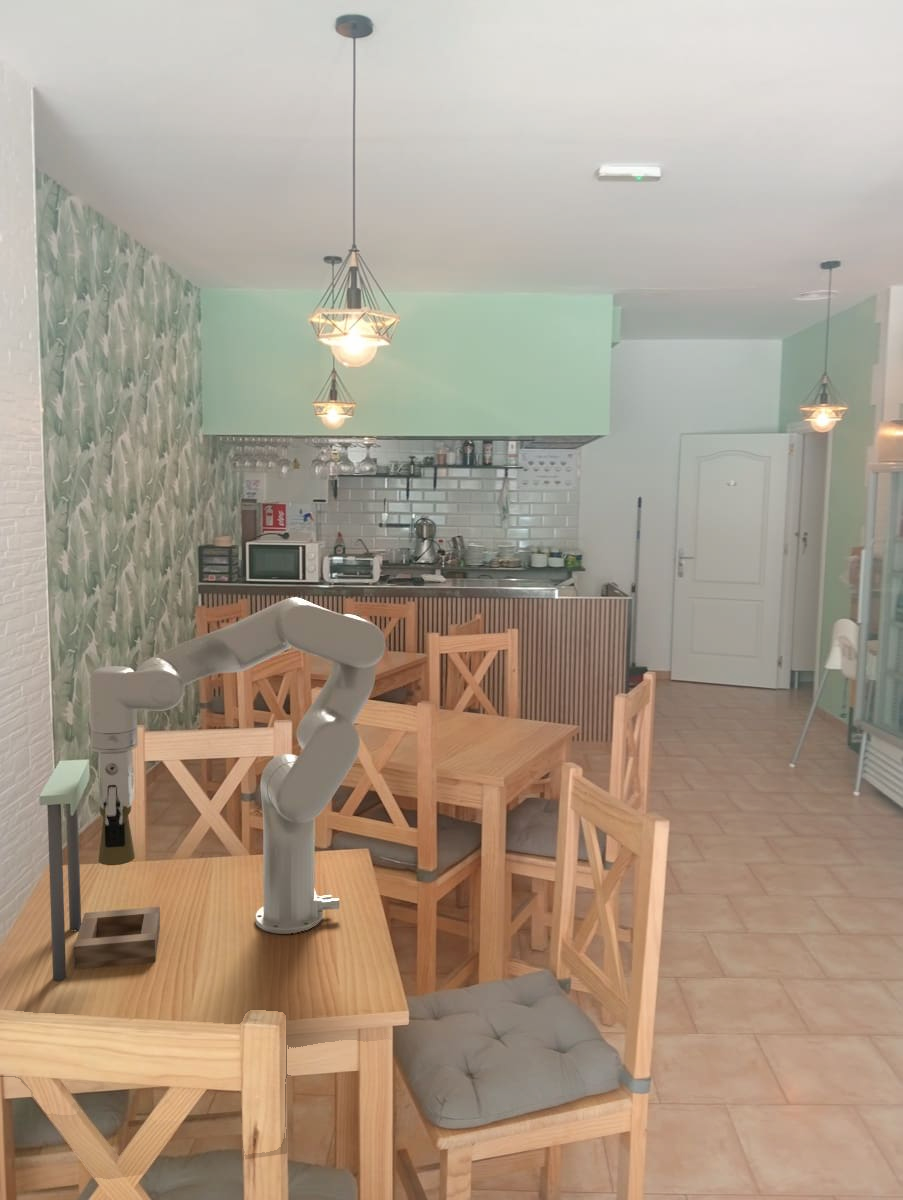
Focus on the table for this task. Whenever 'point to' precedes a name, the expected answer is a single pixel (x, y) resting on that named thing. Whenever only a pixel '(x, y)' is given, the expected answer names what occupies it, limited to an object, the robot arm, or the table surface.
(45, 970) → the table surface
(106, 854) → the olive pawn
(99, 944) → the socket block
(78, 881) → the stand
